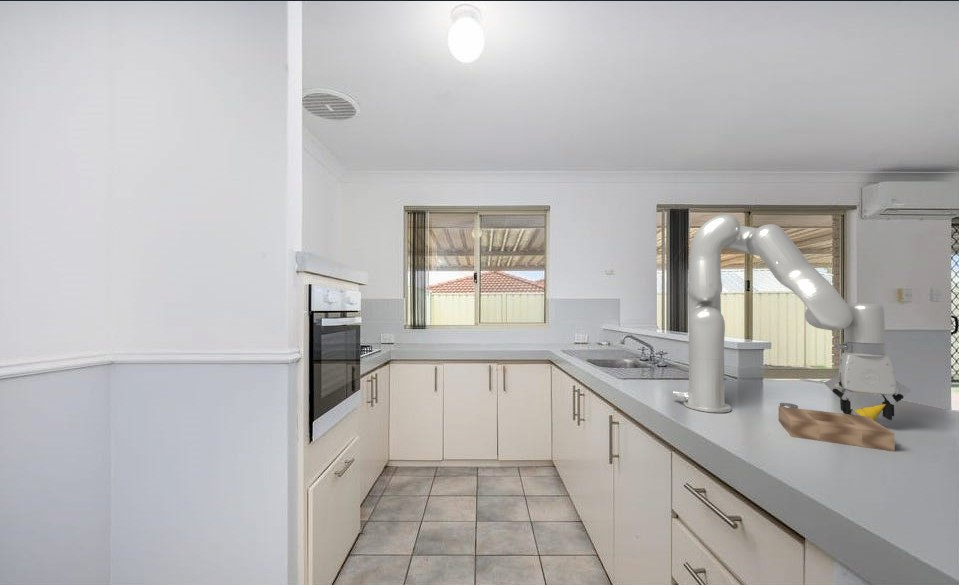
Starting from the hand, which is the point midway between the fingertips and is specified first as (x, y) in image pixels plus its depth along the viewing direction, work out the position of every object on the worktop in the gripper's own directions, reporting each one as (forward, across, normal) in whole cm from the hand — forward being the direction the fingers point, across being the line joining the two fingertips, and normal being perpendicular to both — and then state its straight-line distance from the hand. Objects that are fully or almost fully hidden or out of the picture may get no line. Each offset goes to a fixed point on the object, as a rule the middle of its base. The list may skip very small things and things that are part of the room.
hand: (866, 415), depth 99 cm
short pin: (+3, -16, -1) cm, 17 cm away
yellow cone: (+3, 0, 0) cm, 3 cm away
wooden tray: (+3, -10, -12) cm, 16 cm away
